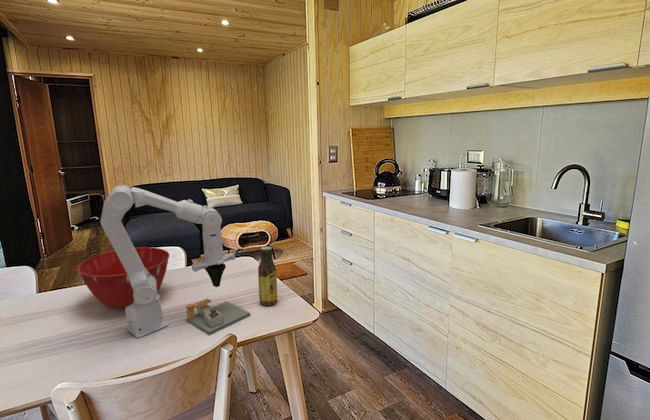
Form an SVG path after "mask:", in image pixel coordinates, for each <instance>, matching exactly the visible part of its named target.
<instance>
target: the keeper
mask: <svg viewBox="0 0 650 420" xmlns="http://www.w3.org/2000/svg"><path fill="white" fill-rule="evenodd" d="M211 302H212V300H211V299H209V298H205V299H203V300H199V301H198V302H194V303H189V304H186V305H185V306H186V309H185V310H186V315H187V317H186V318H188V319H189V320H193V319H195V309H197V308H198V307H200V306H202V305H205V304H207V305H208V304H210V303H211Z"/></svg>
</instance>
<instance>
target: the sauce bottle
mask: <svg viewBox="0 0 650 420" xmlns="http://www.w3.org/2000/svg"><path fill="white" fill-rule="evenodd" d="M259 251H260V257H261V258H260V263H259V265H258V268H257V269H258V270H257V271H258V272H257V273H258V274H257V278H258V279H257V280H258V281H257V282H258V299H259V303H260V305H262V306H264V307H266V306H267V307H270V306H273V305H275V304H276V303H277V302H278V280H277V268H276V265H275V263H274V260H273V247H272V246H261V247H260V248H259Z"/></svg>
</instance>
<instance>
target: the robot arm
mask: <svg viewBox="0 0 650 420" xmlns="http://www.w3.org/2000/svg"><path fill="white" fill-rule="evenodd" d="M134 204H135V206H134V207H135V208H139V207H143V206H151V207H155V208H158V209H161V210H166V211H169V212H173V213H174V214H175V216H176V217H177V219H180V220H184V221H186V222H187V221H188V222H191V223H194V224H196V225H197V224H198V225H199V224H201V225H202V226H201V227H202V240H203V241H202V244H203V252H204V253H203V255H204V259H201V260H199V261H198V262H196V263H193V264H191V270H192V272H195V273H197V272H199V271H200V270H205V272H206V273H207V275H208V276H209V278H210V281H211V283H212V286H213V287H215V288H218V287H220V286H221V281H222V276H223V274H224V271H225V269H226V264H225V262H229V261H235V260H236V253H232V252H229V253H224V250H223V249H224V248H223V238H222V235H223V234H222V230H221V226H222V223H223V219H222V215H221V214H220V213H219V212H218V211H217V210H216V209H215V208H213V207H211V206H208V205H206V204H205V205H201V204H197V203H195V202H193V200H192V199H187V200H185V199H183V200H180V201H176V200H173V199H171V198H168V197H165V196H162V195H159V194H157V193H154V192H151V191H148V190H146V189H142V188H139V187H134V186H132V187H131V186H129V185H127V184H117V185H116V186H114V187H113V188H112V189H111V191H110V192H109V194H108V195H107V197H106V198H105V200H104V201H103V206H102V211H101V212H102V213H101V216H100V225H101V227H102V229H103V231H104V232H105V235H106V237H107V238H108V240H109V243H110V245H111V246H112V247H113V248H112V249H114V250H113V251H115V252H116V253H117V255H118V257H119V259H120V261H121V263H122V265H123V267H124V269H125V270H126V272H127V274H128V276H129V279H130V283H131V286H132V288H133V291H134V294H133V297H134V302H133V303H132V304H131V305H129V306H127V307H126V308H124V309H125V318H126V319H125V320H126V326H127V327H126V330H127V331H128V332H129V333H130V334H132V335H133V336H134V337H136V338H137V339H138V338H141V337H144V336H146V335H149V334H150V333H151V334H152V333H153V332H156V331H158V330H161V329H163V328H165V327H168V326H169V323H168V322H167V321H166V320H164V318H163V312H162V305H161V303H162V302H161V295H160V294H159V293H158V292H157V287H156V286H157V281H156V279H155V277H154V276H152V275H151V274H150V273H149V272H148V270H147V269H146V268H145V267H144V265H143V263H142V261H141V259H140V257H139V255H138V253H137V251H136V249H135V248H136V247H135V245H134V244H133V242H132V239H131V238H130V235H129V234H128V232H127V230H126V228H125V226H124V225H123V222H122V220H123V218H124V216H125V214H126V213H127V212H128V211H129V210H130V209H131V208H132V206H133V205H134Z"/></svg>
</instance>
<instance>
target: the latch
mask: <svg viewBox="0 0 650 420" xmlns="http://www.w3.org/2000/svg"><path fill="white" fill-rule="evenodd" d="M210 308H212V307H211V306H210V305H209V304H208V303H207V304H205V305H202V306H200V307H198V308H196V314H197V313H198V314H199V315H200V316H201V317H202V318H204V322H205V323H206V324H207V325H208V326H209V327H213V326H216V325H219V324H221V323H224V315H223V314H222V313H220V312H219V311H218V310H216V316H214V317H211V312H210Z"/></svg>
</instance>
